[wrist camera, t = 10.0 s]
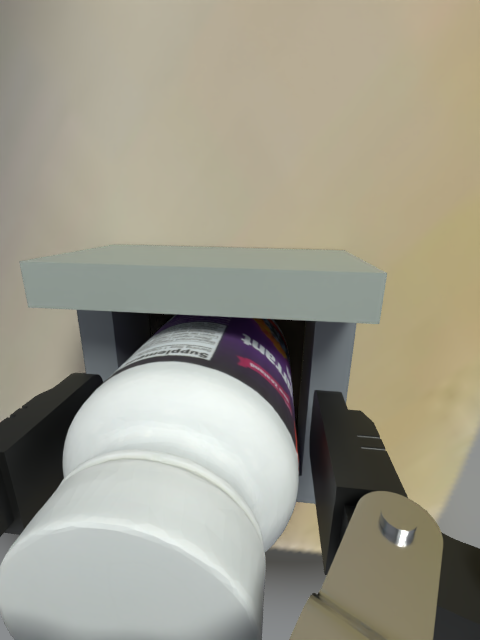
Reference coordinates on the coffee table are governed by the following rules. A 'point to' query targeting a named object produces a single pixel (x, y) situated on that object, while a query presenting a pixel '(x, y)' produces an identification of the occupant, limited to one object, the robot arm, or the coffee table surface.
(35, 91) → the coffee table surface
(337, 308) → the dock
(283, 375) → the pill bottle
